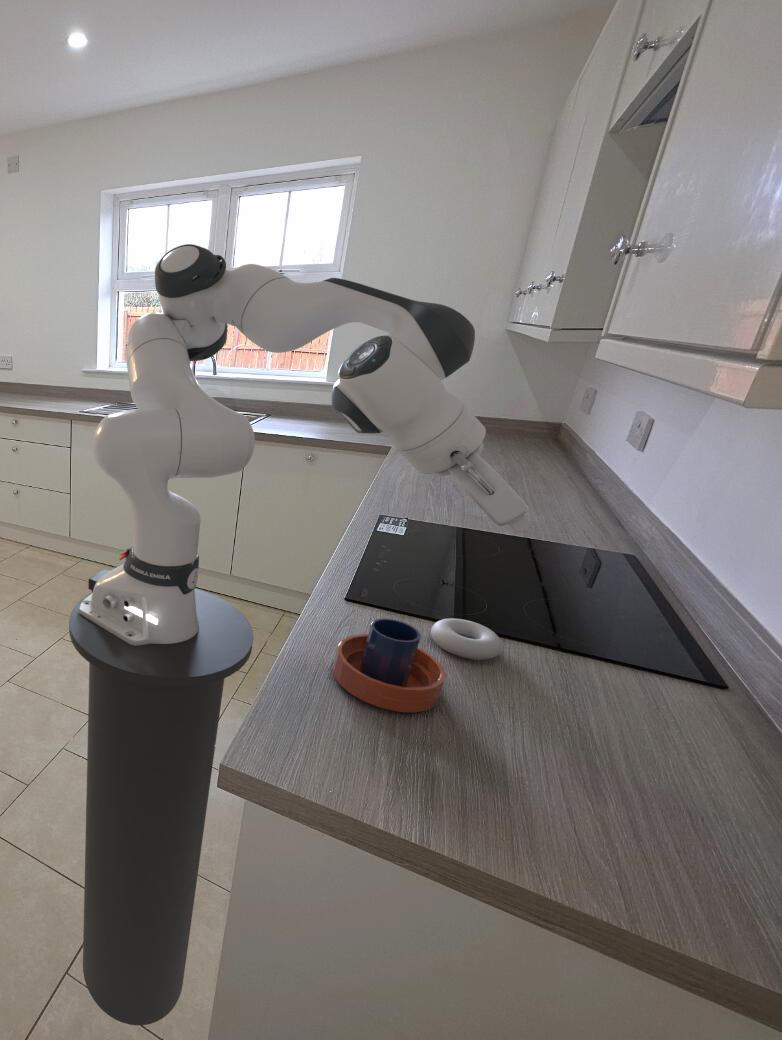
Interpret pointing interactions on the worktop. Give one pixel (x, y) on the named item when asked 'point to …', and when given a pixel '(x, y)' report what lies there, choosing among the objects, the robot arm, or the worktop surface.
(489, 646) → the donut
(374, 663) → the cup
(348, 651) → the bowl
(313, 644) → the worktop surface
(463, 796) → the worktop surface
